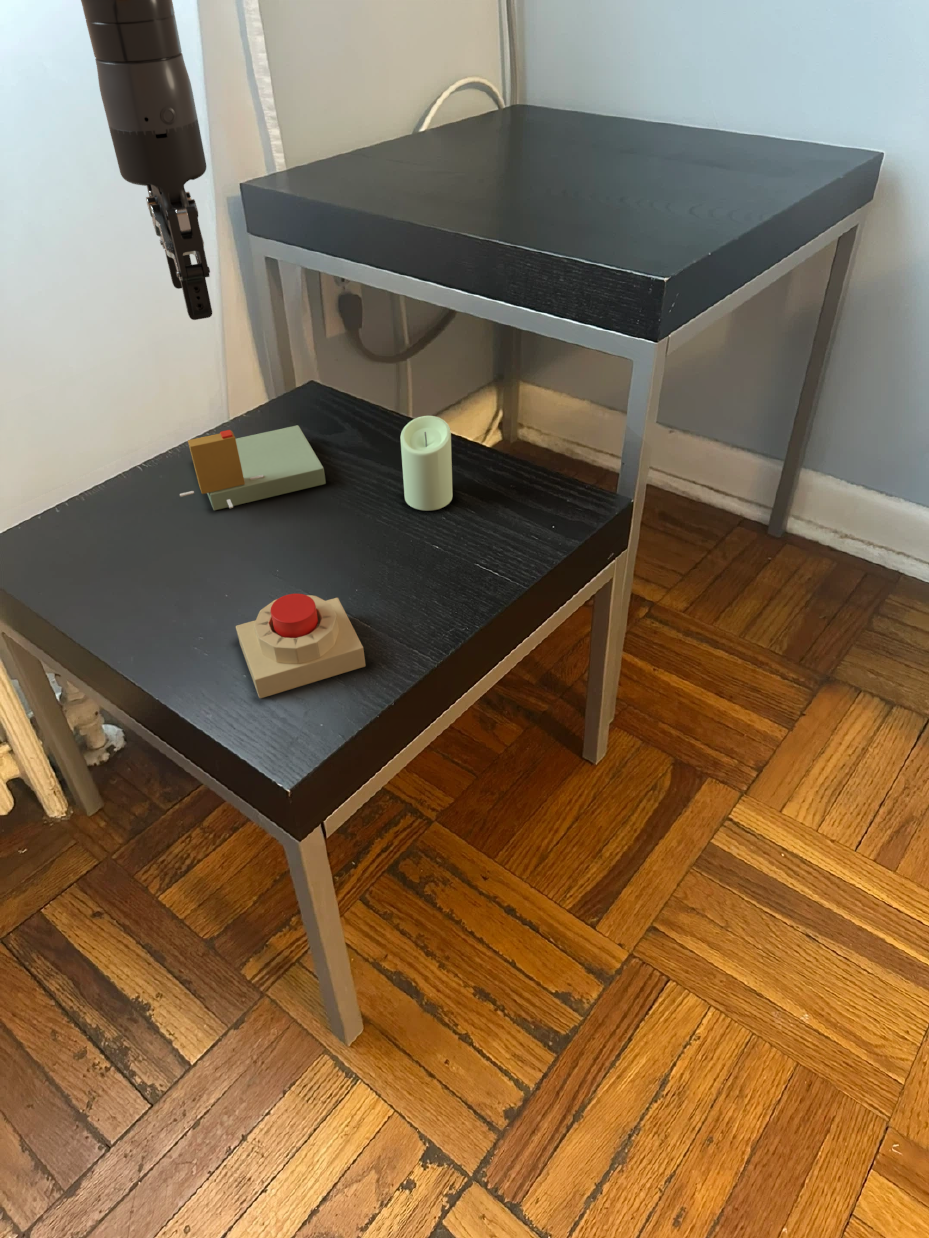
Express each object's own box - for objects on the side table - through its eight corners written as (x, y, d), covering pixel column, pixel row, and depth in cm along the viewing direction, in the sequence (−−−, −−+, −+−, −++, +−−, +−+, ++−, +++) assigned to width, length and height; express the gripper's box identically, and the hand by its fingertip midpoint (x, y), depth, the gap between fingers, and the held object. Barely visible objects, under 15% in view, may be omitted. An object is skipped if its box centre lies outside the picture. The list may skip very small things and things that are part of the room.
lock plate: (192, 535, 87) (187, 517, 86) (169, 469, 97) (165, 452, 95) (335, 500, 92) (332, 482, 90) (300, 440, 101) (298, 423, 99)
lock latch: (202, 494, 89) (189, 444, 85) (199, 487, 90) (187, 438, 86) (245, 484, 90) (234, 435, 87) (242, 477, 91) (231, 428, 88)
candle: (444, 514, 89) (442, 444, 84) (398, 507, 90) (392, 437, 85) (458, 488, 93) (456, 418, 88) (413, 481, 94) (408, 412, 89)
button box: (259, 699, 71) (250, 663, 68) (240, 644, 75) (231, 609, 73) (365, 666, 73) (361, 631, 71) (340, 615, 78) (335, 580, 75)
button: (280, 643, 70) (276, 627, 69) (269, 616, 73) (265, 600, 72) (323, 631, 71) (320, 614, 70) (311, 604, 74) (308, 588, 73)
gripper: (98, 104, 80) (143, 283, 91) (118, 140, 70) (166, 336, 81) (181, 96, 82) (215, 272, 93) (212, 130, 72) (246, 322, 83)
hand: (192, 301), depth 87 cm, fingers open, 8 cm apart
